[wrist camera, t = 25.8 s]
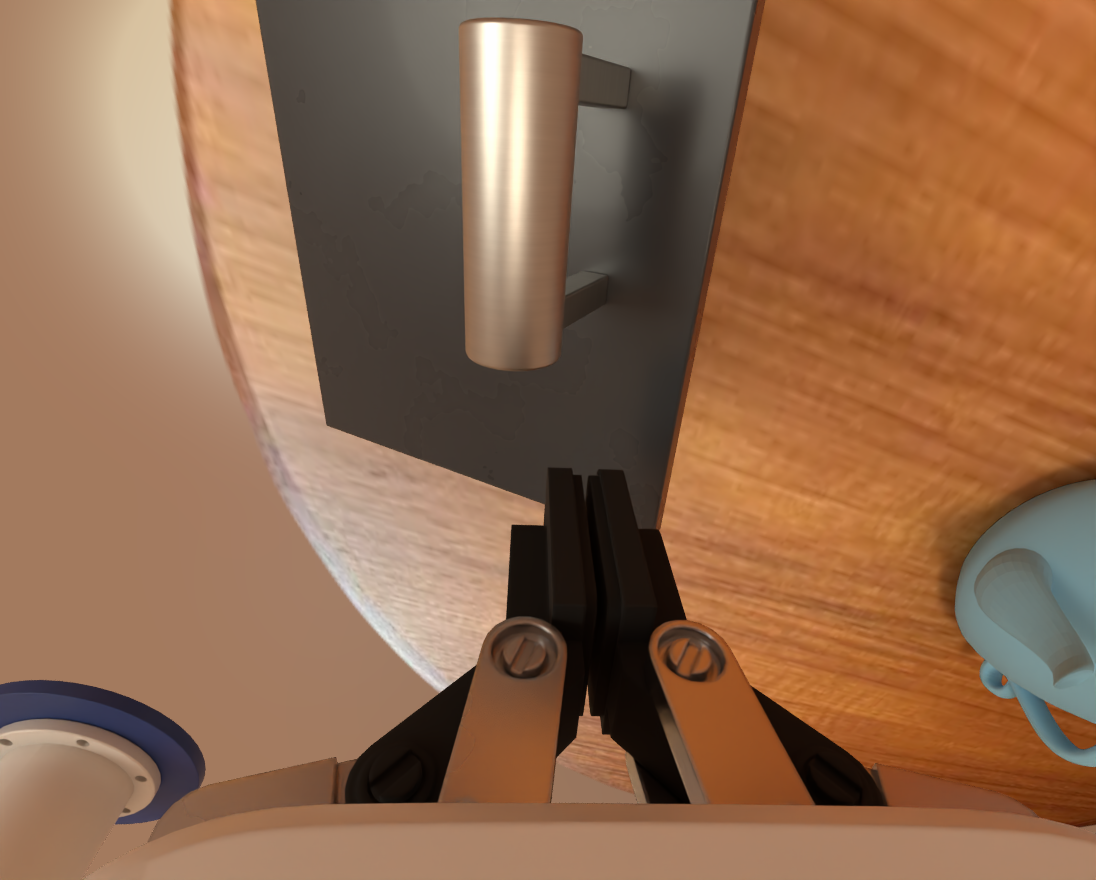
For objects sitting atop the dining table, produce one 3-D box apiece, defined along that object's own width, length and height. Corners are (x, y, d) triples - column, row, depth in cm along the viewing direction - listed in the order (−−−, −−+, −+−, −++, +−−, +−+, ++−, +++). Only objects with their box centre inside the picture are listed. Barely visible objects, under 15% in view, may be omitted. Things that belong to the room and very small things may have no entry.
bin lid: (866, -503, 7) (853, -1361, 3) (660, 529, 16) (584, 664, 12) (236, -289, 12) (-103, -518, 8) (341, 417, 21) (207, 486, 17)
